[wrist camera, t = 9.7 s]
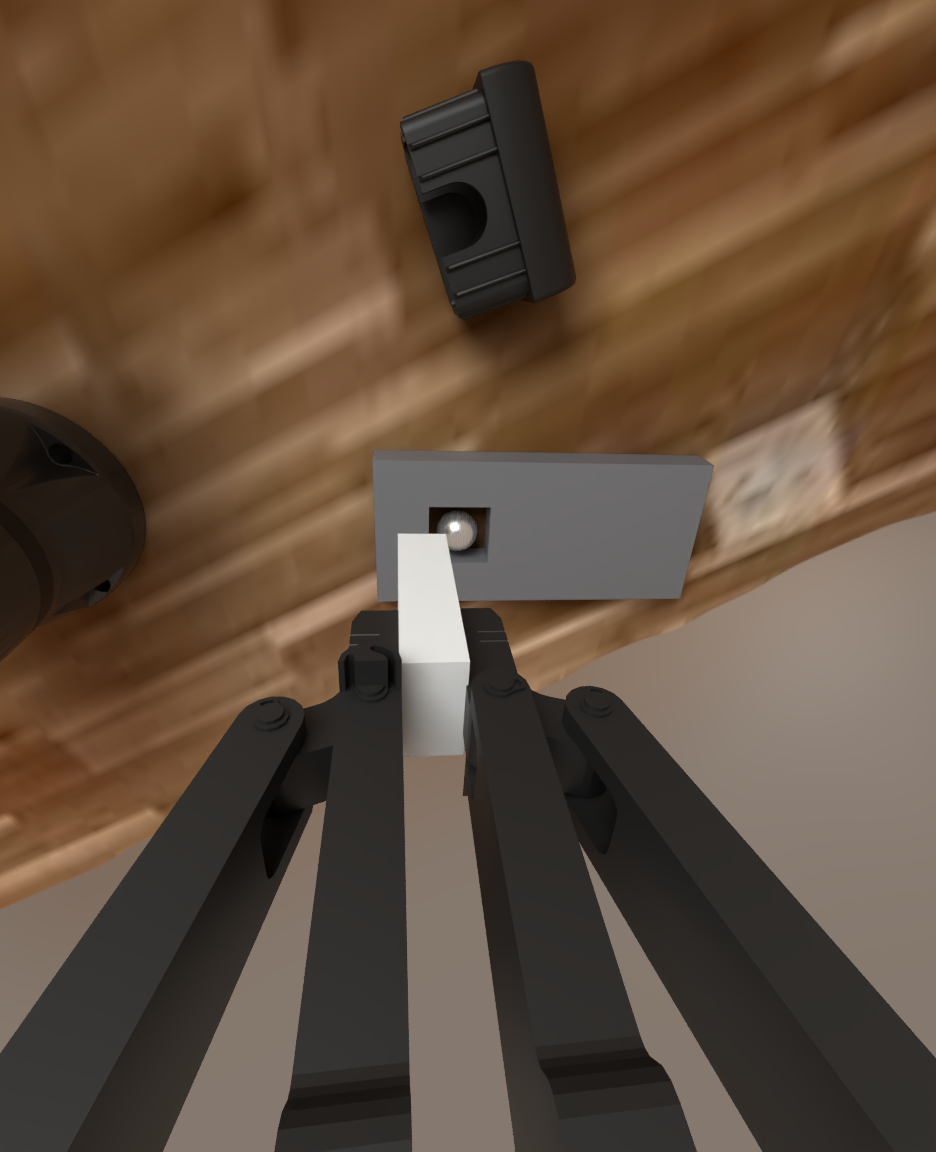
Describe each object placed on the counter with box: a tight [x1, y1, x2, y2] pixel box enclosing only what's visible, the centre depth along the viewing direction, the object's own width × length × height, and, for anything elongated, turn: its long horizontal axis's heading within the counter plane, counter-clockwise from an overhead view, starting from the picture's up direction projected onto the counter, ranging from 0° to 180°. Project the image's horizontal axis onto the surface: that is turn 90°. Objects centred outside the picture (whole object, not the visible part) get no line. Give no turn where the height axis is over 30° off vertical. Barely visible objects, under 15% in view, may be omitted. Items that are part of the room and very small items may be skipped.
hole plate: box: [373, 450, 714, 602], centre depth 42 cm, size 24×11×2 cm, turn 87°
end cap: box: [400, 60, 576, 320], centre depth 31 cm, size 10×7×7 cm
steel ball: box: [437, 510, 477, 551], centre depth 42 cm, size 3×3×3 cm
